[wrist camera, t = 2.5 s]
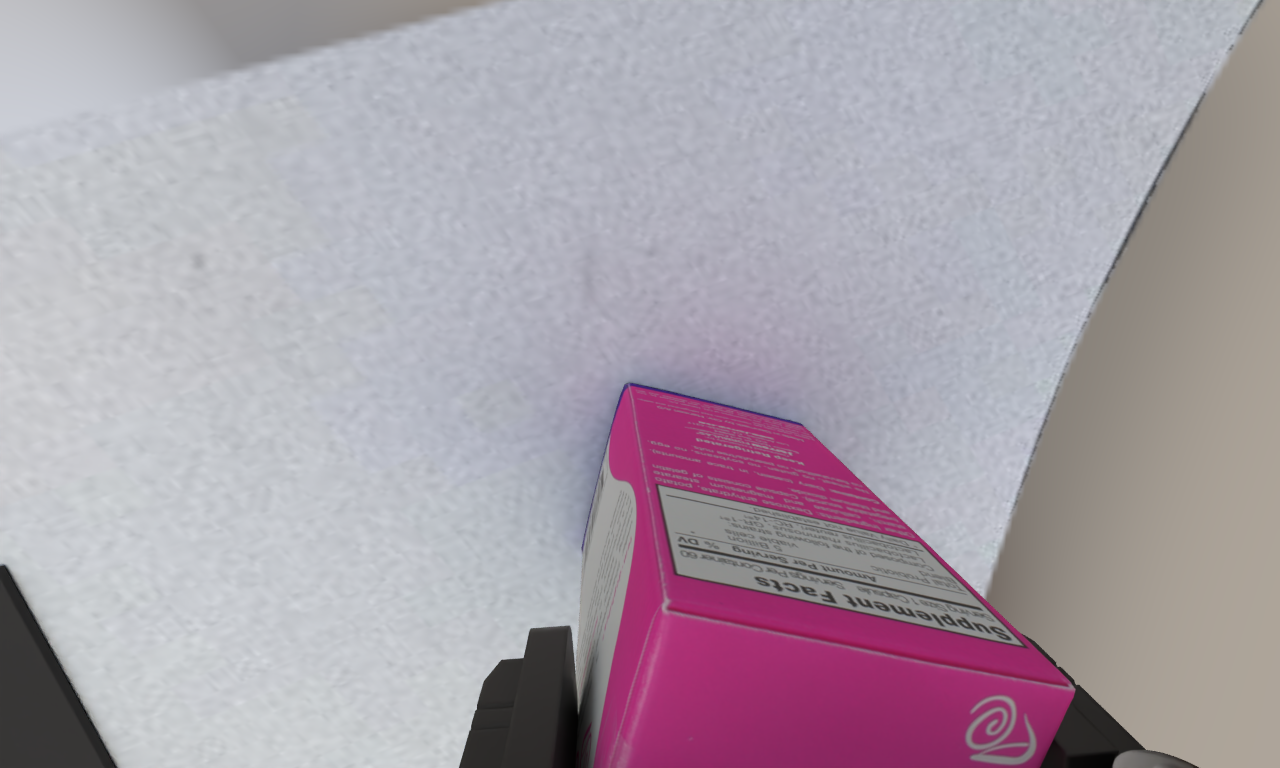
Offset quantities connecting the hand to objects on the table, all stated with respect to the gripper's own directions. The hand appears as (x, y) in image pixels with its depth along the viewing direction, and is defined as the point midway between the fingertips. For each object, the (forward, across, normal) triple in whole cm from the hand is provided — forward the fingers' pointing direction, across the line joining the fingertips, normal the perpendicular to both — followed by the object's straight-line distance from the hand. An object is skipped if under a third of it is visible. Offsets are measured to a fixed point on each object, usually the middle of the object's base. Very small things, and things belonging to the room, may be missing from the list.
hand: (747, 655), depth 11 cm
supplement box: (+8, 0, 0) cm, 8 cm away
